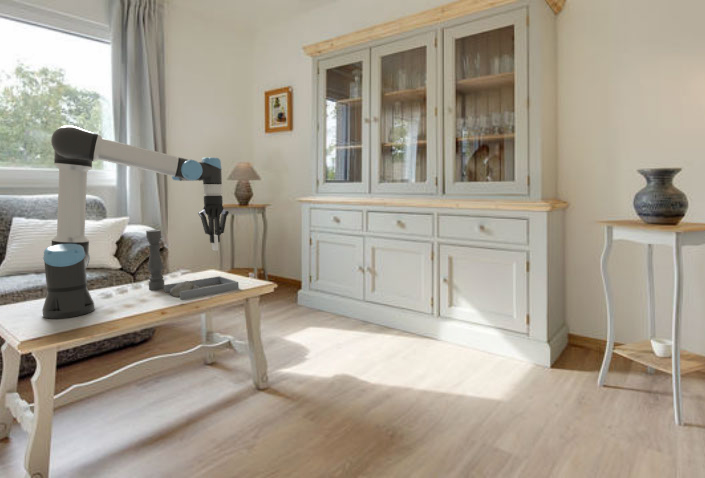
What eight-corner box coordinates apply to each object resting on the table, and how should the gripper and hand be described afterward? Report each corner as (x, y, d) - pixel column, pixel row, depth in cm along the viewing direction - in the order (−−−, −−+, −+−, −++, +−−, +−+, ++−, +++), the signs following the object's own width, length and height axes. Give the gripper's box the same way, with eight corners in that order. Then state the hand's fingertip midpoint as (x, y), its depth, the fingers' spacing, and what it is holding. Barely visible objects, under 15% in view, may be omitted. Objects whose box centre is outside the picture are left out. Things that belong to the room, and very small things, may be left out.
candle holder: (167, 286, 188) (164, 229, 185) (159, 290, 182) (156, 231, 179) (154, 286, 188) (150, 229, 185) (145, 290, 182) (142, 231, 179)
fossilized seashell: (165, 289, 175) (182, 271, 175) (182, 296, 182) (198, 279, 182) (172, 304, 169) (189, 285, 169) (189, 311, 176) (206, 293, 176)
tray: (181, 299, 167) (180, 291, 167) (164, 291, 179) (164, 284, 179) (238, 288, 184) (238, 281, 184) (220, 282, 196) (219, 276, 196)
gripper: (223, 194, 188) (225, 247, 191) (194, 195, 179) (196, 251, 182) (231, 194, 183) (233, 249, 186) (202, 195, 174) (204, 253, 177)
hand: (215, 250), depth 184 cm, fingers closed
